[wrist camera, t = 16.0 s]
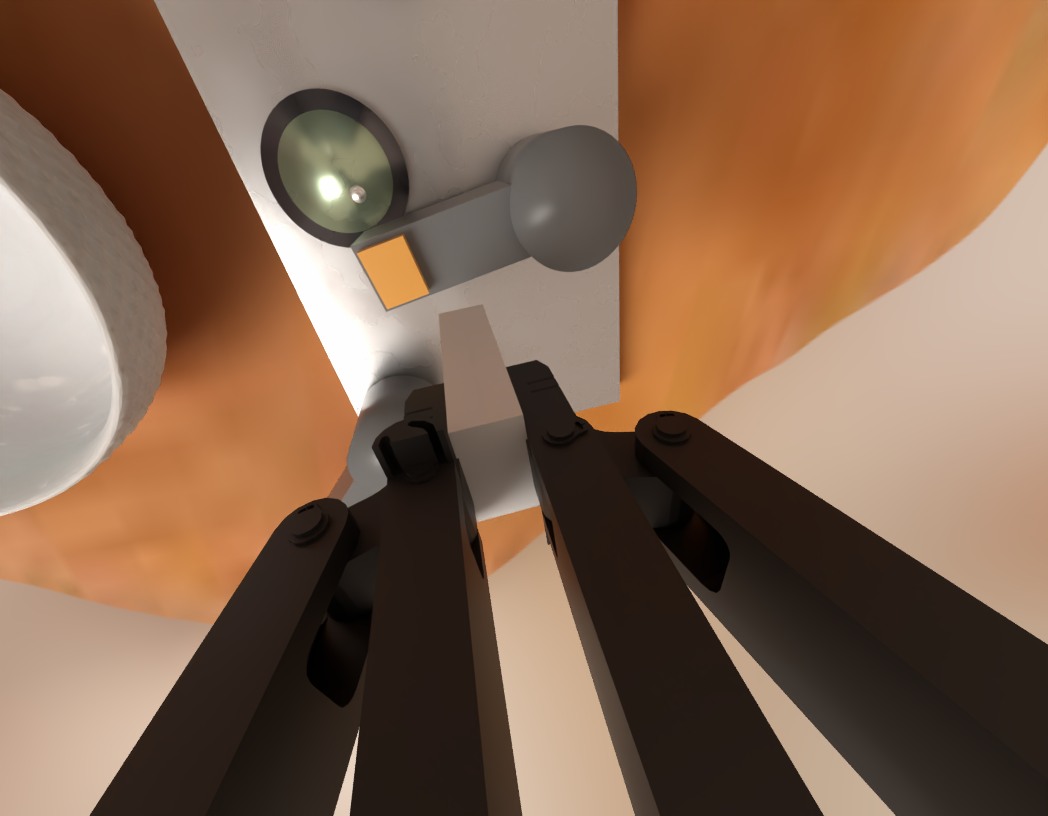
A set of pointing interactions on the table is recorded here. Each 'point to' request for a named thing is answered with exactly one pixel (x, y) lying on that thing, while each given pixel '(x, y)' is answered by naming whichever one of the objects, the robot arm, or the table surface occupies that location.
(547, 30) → the level plate
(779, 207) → the table surface
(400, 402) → the knob
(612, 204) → the knob
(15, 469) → the cereal bowl
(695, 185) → the table surface
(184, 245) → the table surface
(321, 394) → the table surface
